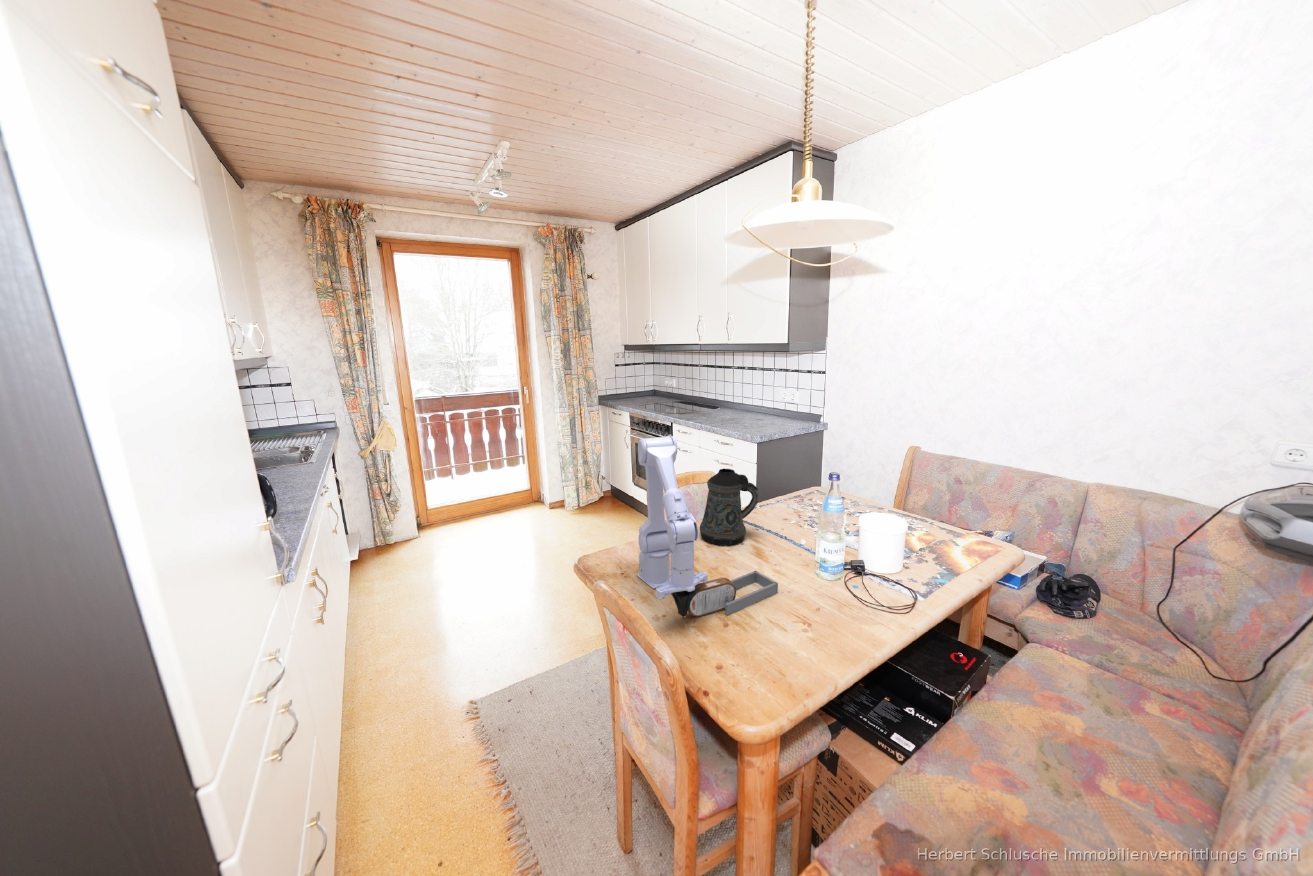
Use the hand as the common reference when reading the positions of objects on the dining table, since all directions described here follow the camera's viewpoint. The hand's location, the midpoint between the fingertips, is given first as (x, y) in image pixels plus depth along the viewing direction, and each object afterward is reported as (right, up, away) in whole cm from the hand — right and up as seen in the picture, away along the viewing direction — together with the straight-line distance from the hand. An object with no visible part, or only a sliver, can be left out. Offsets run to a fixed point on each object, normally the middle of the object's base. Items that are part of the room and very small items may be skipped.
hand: (682, 614), depth 116 cm
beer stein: (+19, +9, +50) cm, 54 cm away
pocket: (+17, +1, +11) cm, 21 cm away
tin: (+8, -1, +5) cm, 9 cm away
